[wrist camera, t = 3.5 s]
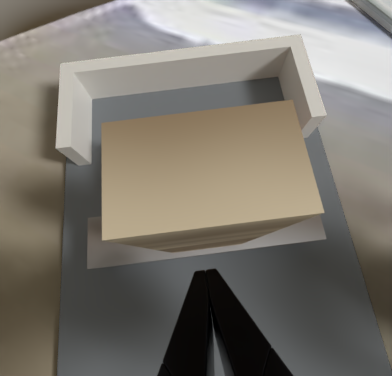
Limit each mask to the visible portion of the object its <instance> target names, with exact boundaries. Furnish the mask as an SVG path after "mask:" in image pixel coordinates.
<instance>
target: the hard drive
mask: <svg viewBox="0 0 392 376" xmlns="http://www.w3.org/2000/svg"><path fill="white" fill-rule="evenodd" d="M351 1H353V2H354V3H355V4H356V5H357V6H359V7H360V8H361V9H362V10H363V11H365V12H366V13H367V14H368V15H369V16H371V17H372V18H373V19H374V20H375V21H377V22H378V23H379V24H380V25H382V26H383V27H384V28H385V29H386V30H388V31H389V32H390V33H391V34H392V0H351Z"/></svg>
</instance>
